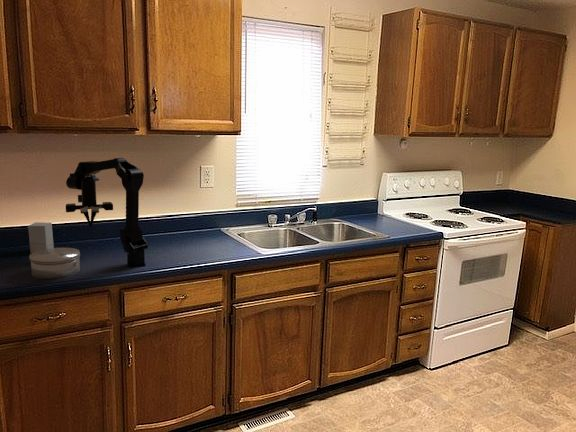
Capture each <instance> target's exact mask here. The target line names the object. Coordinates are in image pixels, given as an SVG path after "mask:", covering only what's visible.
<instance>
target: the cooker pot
mask: <svg viewBox="0 0 576 432" xmlns="http://www.w3.org/2000/svg"><path fill="white" fill-rule="evenodd" d="M80 257H81V254H80V255H79V256H78V257H77V258H74V259H71V260H67V261H62V262H54V263H39V262H34V261H31V260H30V259H29V262H30V269H31V276H32V277H34V278H36V279H37V278H38V279H43V280H45V279H49V280H52V279H61V278H66V277H71V276H73V275H76V274H78V273H79V272H80V270H81V263H80V262H81V260H80Z"/></svg>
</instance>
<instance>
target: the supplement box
mask: <svg viewBox="0 0 576 432" xmlns="http://www.w3.org/2000/svg"><path fill="white" fill-rule="evenodd" d="M52 224H53V223H52V222H39V221H38V222H37V221H36V222H33V223H32V224H31V223H30V224H29V225H27V228H28V237H29V238H28V239H29V250H30V251H29V252H30V254H32V253H34V252H36V251H40V250H44V249H50V248H55V245H54V235H53V225H52Z"/></svg>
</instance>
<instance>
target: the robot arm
mask: <svg viewBox="0 0 576 432" xmlns="http://www.w3.org/2000/svg"><path fill="white" fill-rule="evenodd" d="M112 169H114V170H115V172H116V175H117V176H118V177H119V178H120V179H121V185H122V186H123V188H124V190H125V226H124V227H123V228H120V231H119V233H120V236H119V239H120V243H121V245H122V248H123V251H124V252H125V253H126V255H125V257H126V265H127V266H128V268H135V267H143V266H144V267H145V266H146V262H145V250H148V247H149V243H148V241H146V238H145V237H144V236H143V230H142V228H141V227H140V225H139V205H140V203H139V202H140V201H139V200H140V199H139V198H140V196H139V195H140V194H139V193H140V189H141V188H142V186H143V182H144V172H143V171H142V170H141V168H139V167H138V166H136V165H134V164H133V163H131V162H129V161H128V160H127V159H125V158H124V157H115V158H111V159H106V160H101V161H96V160H90V161H89V160H88V161H80V162H78V164H77V167H76V169H75V171H74V172H73V173H69V176H68V177H67V179H66V182H65V184H66V187H67V188H69V189H72V190H77V191H81V194H77V203H79V204H77V205H76V203H75V202H73V203H66V204H65V213H74V212H76V210H80V214H83V215H84V217H85V219H86V221H87V223H88V226H89V228H91V227H93V224H94V220H95V218H96V216H97V214H99V213H100V209H104V210H105V211H113V210H114V204H113V203H112V202H111V201H102V203H99V204H98V203H97V187H96V182H98V181H100V178H99V177H97V176H96V174H98V173H100V172H101V171H105V170H112ZM80 203H81V204H80ZM89 210H90V211H91V212H90V214H89Z"/></svg>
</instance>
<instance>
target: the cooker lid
mask: <svg viewBox="0 0 576 432" xmlns="http://www.w3.org/2000/svg"><path fill="white" fill-rule="evenodd" d="M79 255H80V256H81V252H80V250H79V249H78V248H72V247H54V248H50V249H44V250H40V251H36V252H34V253H30V254H29V256H28V258H29V261H30V260H31V261H34V262H39V263H54V262H62V261H67V260H71V259H74V258H77V257H78V256H79ZM31 261H30V262H31Z"/></svg>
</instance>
